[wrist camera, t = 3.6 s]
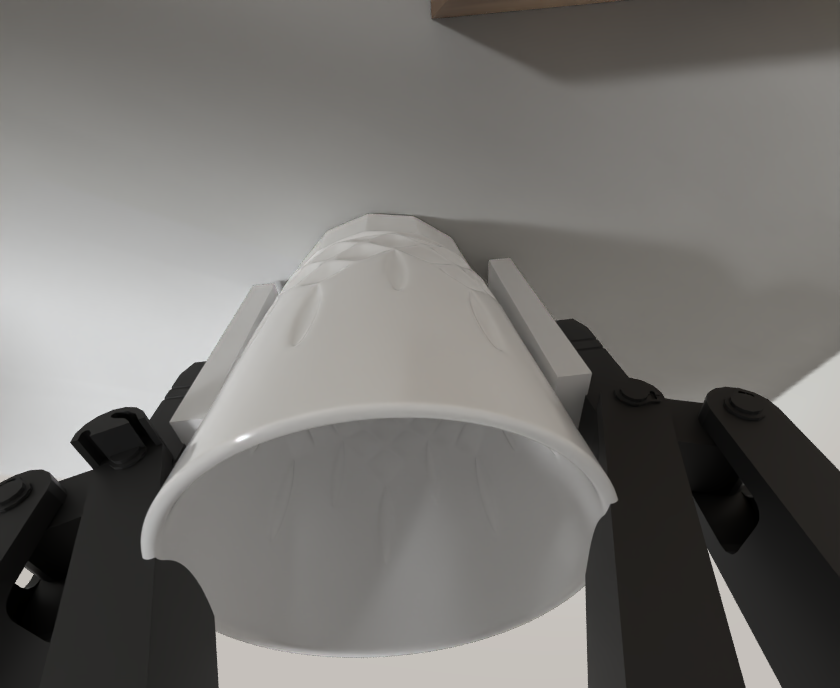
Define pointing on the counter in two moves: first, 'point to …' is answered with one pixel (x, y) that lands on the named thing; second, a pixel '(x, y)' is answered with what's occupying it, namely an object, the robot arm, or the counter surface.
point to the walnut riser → (497, 6)
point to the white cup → (382, 462)
